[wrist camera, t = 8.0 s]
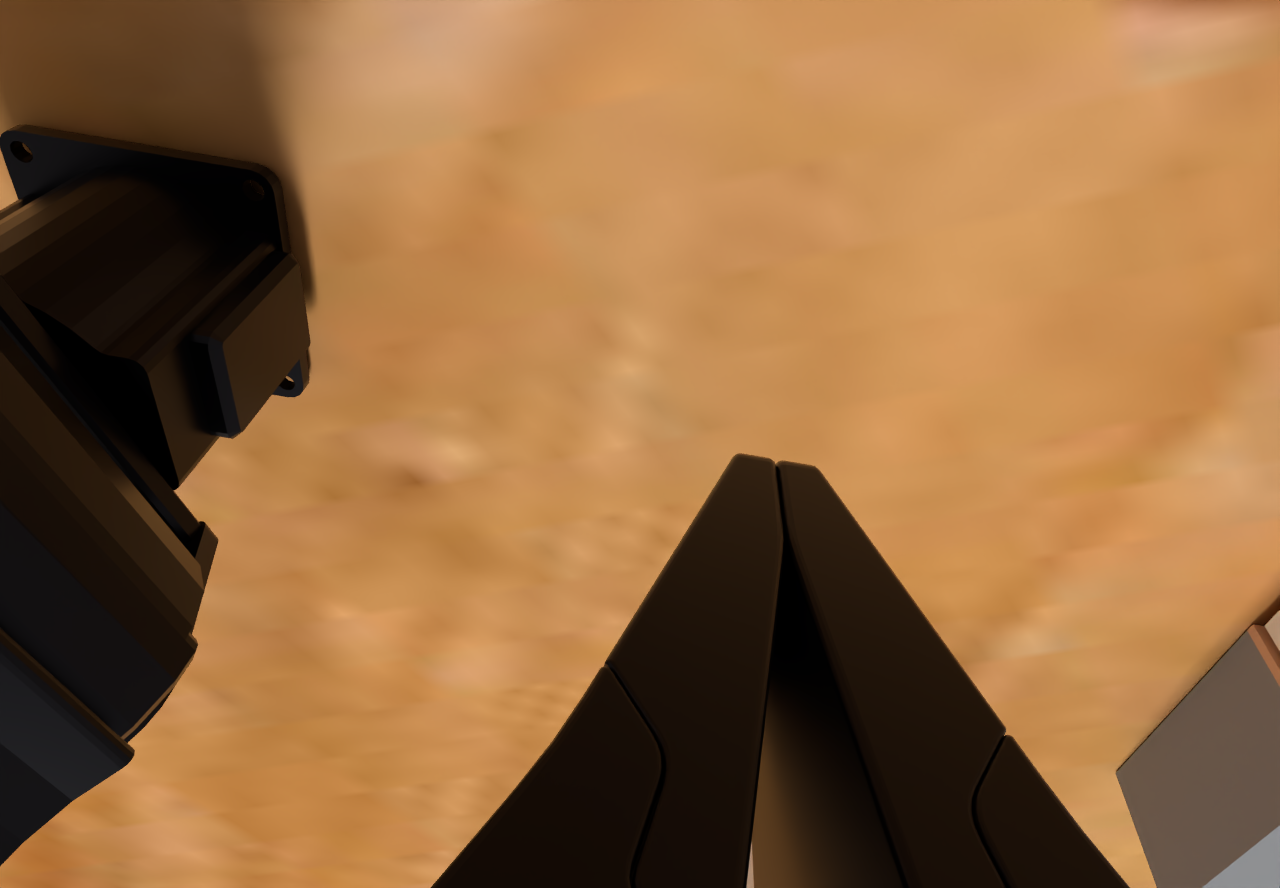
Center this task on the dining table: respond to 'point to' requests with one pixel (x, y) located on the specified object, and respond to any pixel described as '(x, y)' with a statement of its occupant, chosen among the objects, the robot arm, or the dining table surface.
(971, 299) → the dining table surface
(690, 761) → the robot arm
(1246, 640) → the grey blocks
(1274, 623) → the peg block
